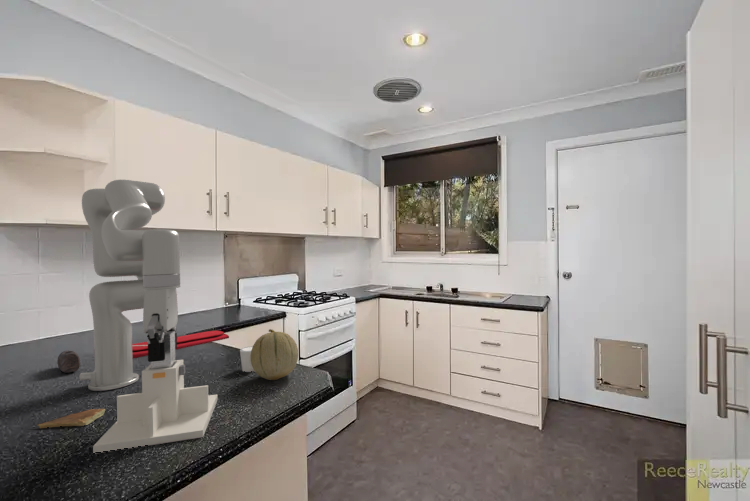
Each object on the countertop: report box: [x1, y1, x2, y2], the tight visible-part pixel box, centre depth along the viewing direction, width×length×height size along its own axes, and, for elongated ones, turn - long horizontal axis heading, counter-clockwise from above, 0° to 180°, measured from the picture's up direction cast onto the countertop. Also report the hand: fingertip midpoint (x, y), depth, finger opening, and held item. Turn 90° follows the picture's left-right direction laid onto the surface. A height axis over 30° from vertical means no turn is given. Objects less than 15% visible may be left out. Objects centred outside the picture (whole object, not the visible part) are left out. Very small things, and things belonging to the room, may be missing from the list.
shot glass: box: [239, 345, 255, 373], centre depth 120 cm, size 7×7×7 cm
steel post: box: [150, 331, 176, 369], centre depth 82 cm, size 4×4×18 cm
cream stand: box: [92, 359, 219, 454], centre depth 82 cm, size 20×20×14 cm
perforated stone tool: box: [56, 350, 81, 374], centre depth 123 cm, size 15×5×7 cm, turn 49°
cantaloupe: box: [250, 328, 299, 381], centre depth 110 cm, size 15×15×15 cm
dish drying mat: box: [132, 330, 230, 359], centre depth 154 cm, size 16×41×4 cm, turn 140°
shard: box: [36, 408, 106, 429], centre depth 85 cm, size 11×8×2 cm
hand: (163, 354), depth 82 cm, fingers open, 9 cm apart
